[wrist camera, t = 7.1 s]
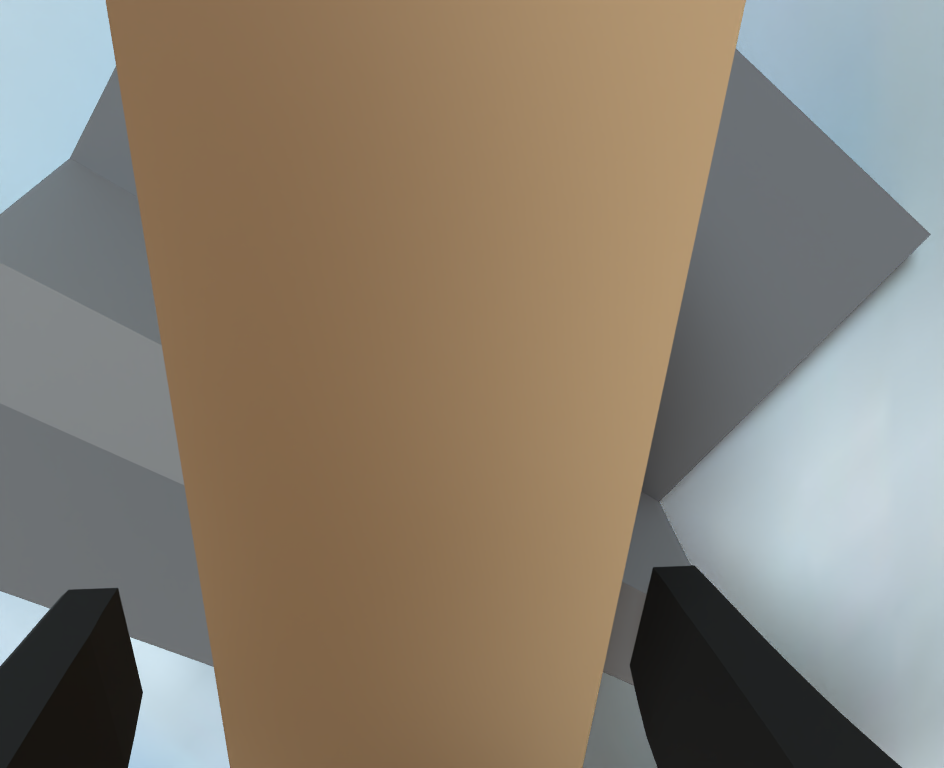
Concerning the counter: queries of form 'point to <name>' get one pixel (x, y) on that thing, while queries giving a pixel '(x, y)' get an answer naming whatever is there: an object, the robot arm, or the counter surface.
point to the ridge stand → (147, 393)
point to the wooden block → (416, 346)
